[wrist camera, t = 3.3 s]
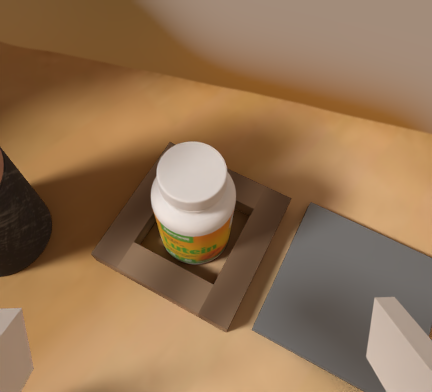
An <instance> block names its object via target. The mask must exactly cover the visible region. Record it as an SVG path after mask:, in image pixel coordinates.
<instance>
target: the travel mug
mask: <svg viewBox="0 0 432 392" xmlns="http://www.w3.org/2000/svg"><path fill="white" fill-rule="evenodd" d="M51 230H52V221H51V215H50V212H49V210H48V208H47V206H46V205H45V203H44V202H43V201H42V199H41V198H40V197H39V195H38V194H37V193H36V192H35V190H34V189H33V188H32V187H31V185H30V184H29V183H28V181H27V180H26V179H25V178H24V176H23V175H22V174H21V173H20V171H19V170H18V169H17V168H16V166H15V165H14V164H13V163H12V161H11V160H10V159H9V157H8V156H7V155H6V154H5V152H4V151H3V150H2V149H1V147H0V277H1V276H7V275H10V274H13V273H16V272H18V271H20V270H22V269H24V268H26V267H27V266H28V265H30V264H31V263H32V262H33V261H35V260H36V259H37V258H38V257H39V255H40V254H41V253H42V252H43V250H44V249H45V247H46V245H47V243H48V241H49V239H50V235H51Z"/></svg>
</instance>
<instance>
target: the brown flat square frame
mask: <svg viewBox="0 0 432 392" xmlns="http://www.w3.org/2000/svg"><path fill="white" fill-rule="evenodd" d="M173 146H175V144H173V143H171V142H170V143H169V144H168V145H167V147H166V148H165V150H164V151H163V152H162V154H161V155H160V157H159V158H158V160H157V161H156V162H155V164H154V165H153V167H152V168H151V169H150V171H149V172H148V174H147V175H146V177H145V178H144V179H143V181H142V182H141V184H140V185H139V186H138V188H137V189H136V191H135V192H134V193H133V195H132V196H131V198H130V199H129V201H128V202H127V203H126V205H125V206H124V208H123V209H122V210H121V212H120V213H119V215H118V216H117V218H116V219H115V220H114V222H113V223H112V225H111V226H110V227H109V229H108V230H107V232H106V233H105V234H104V236H103V237H102V239H101V240H100V242H99V243H98V244H97V246H96V247H95V249H94V250H93V251H92V253H91V255H92V256H93V257H94V258H95V259H96V260H97V261H99V262H101V263H102V264H104V265H106V266H108V267H110V268H111V269H113V270H115V271H117V272H119V273H120V274H122V275H124V276H126V277H127V278H129V279H131V280H133V281H135V282H136V283H138V284H140V285H142V286H144V287H145V288H147V289H149V290H151V291H153V292H154V293H156V294H158V295H160V296H162V297H163V298H165V299H167V300H169V301H171V302H172V303H174V304H176V305H178V306H179V307H181V308H183V309H185V310H187V311H188V312H190V313H192V314H194V315H196V316H197V317H199V318H201V319H203V320H205V321H206V322H208V323H210V324H212V325H214V326H215V327H217V328H219V329H221V330H223V331H224V332H227V330H228V328H229V326H230V324H231V321H232V319H233V317H234V315H235V313H236V311H237V309H238V307H239V305H240V303H241V301H242V299H243V297H244V295H245V293H246V291H247V289H248V287H249V285H250V283H251V281H252V279H253V276H254V274H255V272H256V270H257V268H258V266H259V264H260V262H261V260H262V258H263V256H264V254H265V252H266V250H267V248H268V246H269V244H270V242H271V240H272V238H273V236H274V233H275V231H276V229H277V227H278V225H279V223H280V221H281V219H282V217H283V215H284V213H285V211H286V209H287V207H288V205H289V203H290V200H291V198H289V197H287V196H285V195H283V194H281V193H279V192H276V191H274V190H272V189H270V188H268V187H266V186H264V185H261V184H259V183H257V182H255V181H253V180H251V179H249V178H246V177H244V176H242V175H240V174H238V173H236V172H233V171H231V170H229V169H227V172H228V173H229V174H230V176H231V178H232V180H233V182H234V185H235V189H236V203H235V208H234V209H236V210H238V211H240V212H242V213H244V214H246V215H249V216H250V217H249V219H248V221H247V223H246V225H245V226H244V228H243V230H242V232H241V234H240V236H239V238H238V240H237V242H236V243H235V245H234V247H233V249H232V251H231V253H230V255H229V257H228V258H227V260H226V262H225V264H224V266H223V268H222V270H221V272H220V273H219V275H218V277H217V279H216V281H215V283H214V285H213V284H211V283H210V282H208V281H206V280H204V279H202V278H200V277H198V276H196V275H195V274H193V273H191V272H189V271H187V270H185V269H183V268H181V267H180V266H178V265H176V264H174V263H172V262H170V261H168V260H167V259H165V258H163V257H161V256H159V255H157V254H155V253H153V252H152V251H150V250H148V249H146V248H144V247H142V246H140V244H141V242H142V241H143V239H144V238H145V236H146V235H147V233H148V232H149V230H150V229H151V227H152V226H153V224H154V223H155V221H156V218H155V215H154V212H153V208H152V204H151V188H152V185H153V182H154V180H155V178H156V176H157V174H156V173H157V166H158V163H159V161H160V159H161V157H162V156H163V154H164V153H165V152H166V151H167V150H168V149H170V148H171V147H173Z"/></svg>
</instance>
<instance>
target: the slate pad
mask: <svg viewBox="0 0 432 392" xmlns="http://www.w3.org/2000/svg"><path fill="white" fill-rule="evenodd" d="M375 297H395V298H396V299H397V300H398V302H399V303H400V304H401V305H402V306H403V307H404V309H405V310H406V311H407V312H408V313H409V314H410V315H411V317H412V318H413V319H414V320H415V321H416V322H417V324H418V325H419V326H420V327H421V328H422V329H423V331H424V332H425V333H426V334H427V335H428V336H429V334H430V330H431V326H432V258H431V257H429V256H426V255H424V254H422V253H420V252H418V251H416V250H413V249H411V248H409V247H407V246H405V245H403V244H400V243H398V242H396V241H394V240H392V239H390V238H387V237H385V236H383V235H381V234H379V233H377V232H374V231H372V230H370V229H368V228H366V227H364V226H361V225H359V224H357V223H355V222H353V221H351V220H348V219H346V218H344V217H342V216H340V215H338V214H336V213H333V212H331V211H329V210H327V209H325V208H323V207H320V206H318V205H316V204H314V203H312V202H311V203H310V204H309V206H308V208H307V211H306V213H305V215H304V217H303V219H302V221H301V224H300V226H299V228H298V230H297V232H296V234H295V237H294V239H293V241H292V243H291V245H290V247H289V250H288V252H287V254H286V256H285V258H284V260H283V263H282V265H281V267H280V269H279V271H278V274H277V276H276V278H275V280H274V282H273V284H272V287H271V289H270V291H269V293H268V295H267V297H266V300H265V302H264V304H263V306H262V308H261V310H260V313H259V315H258V317H257V319H256V321H255V323H254V326H253V328H252V330H253V331H255V332H256V333H258V334H260V335H262V336H264V337H266V338H267V339H269V340H271V341H273V342H275V343H277V344H278V345H280V346H282V347H284V348H286V349H287V350H289V351H291V352H293V353H295V354H297V355H298V356H300V357H302V358H304V359H306V360H308V361H309V362H311V363H313V364H315V365H317V366H318V367H320V368H322V369H324V370H326V371H328V372H329V373H331V374H333V375H335V376H337V377H339V378H340V379H342V380H344V381H346V382H348V383H349V384H351V385H353V386H355V387H357V388H359V389H360V390H362V391H364V392H386V390H385V389H384V387H383V385H382V383H381V382H380V380H379V378H378V377H377V375H376V373H375V371H374V370H373V368H372V366H371V365H370V363H369V361H368V359H367V358H366V353H367V346H368V339H369V333H370V326H371V319H372V312H373V305H374V298H375Z"/></svg>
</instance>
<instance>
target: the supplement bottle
mask: <svg viewBox="0 0 432 392" xmlns="http://www.w3.org/2000/svg"><path fill="white" fill-rule="evenodd" d="M156 174H157V176H156V178H155V180H154V182H153V185H152V188H151V204H152V208H153V212H154V215H155V218H156V222H157V225H158V229H159V232H160V236H161V239H162V242H163V244H164V246H165V248H166V250H167V251H168V252H169V254H170V255H172V256H173V257H174V258H175V259H177V260H179V261H181V262H183V263H187V264H194V265H197V264H204V263H207V262H210V261H212V260H214V259H215V258H217V257H218V256H219V255H220V254H221V253H222V252H223V251H224V249H225V247H226V246H227V243H228V240H229V237H230V231H231V225H232V219H233V214H234V208H235V203H236V189H235V185H234V182H233V180H232V178H231V176H230V174H229V173H228V172H227V166H226V163H225V160H224V158H223V157H222V155H221V154H220V153H219V152H218V151H217V150H216V149H215V148H213V147H211V146H210V145H207V144H205V143H201V142H183V143H180V144H177V145H175V146H173V147H171V148H170V149H168V150H167V151H166V152H165V153H164V154H163V156H162V157H161V159H160V161H159V163H158V166H157V173H156Z"/></svg>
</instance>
